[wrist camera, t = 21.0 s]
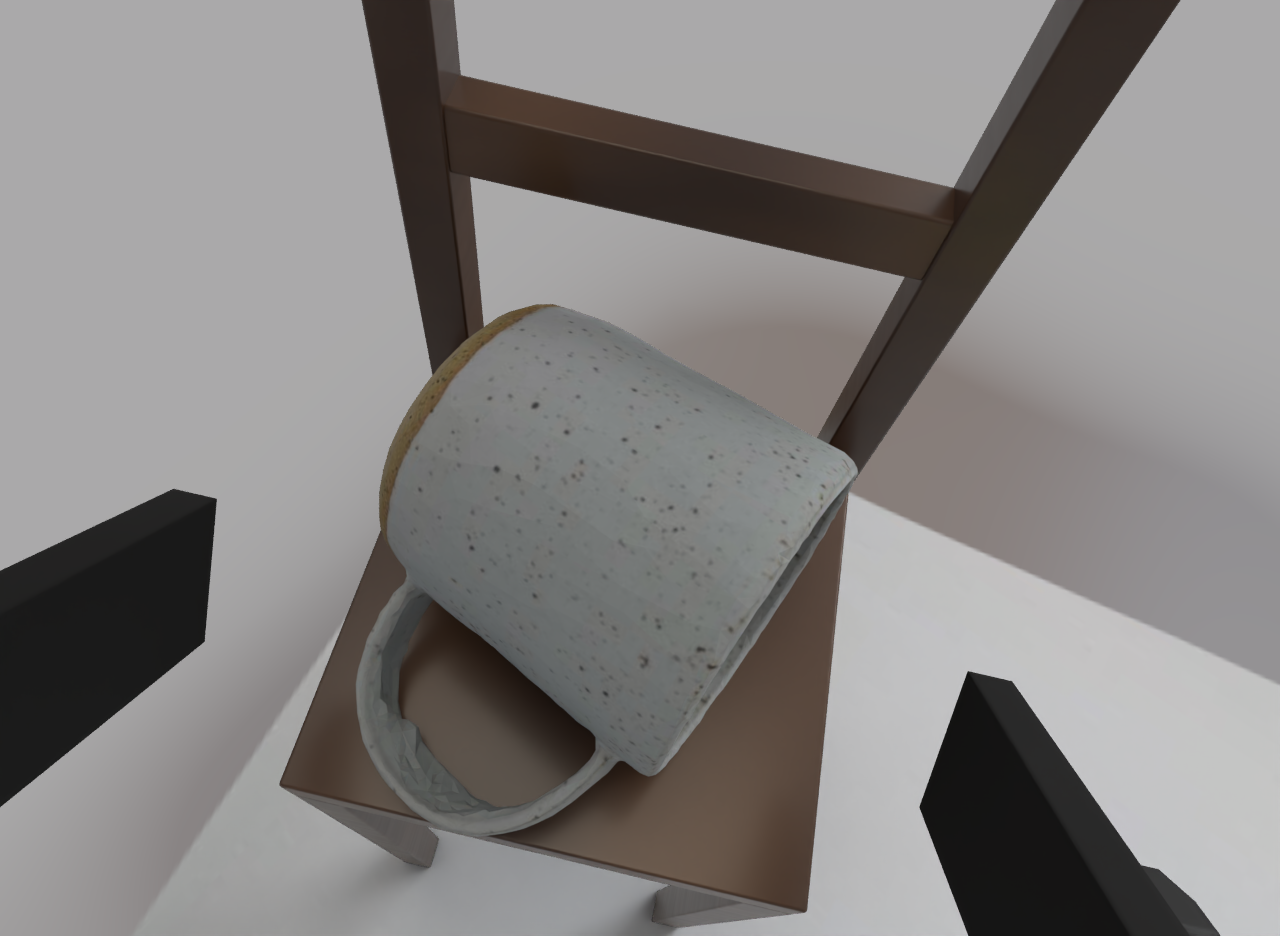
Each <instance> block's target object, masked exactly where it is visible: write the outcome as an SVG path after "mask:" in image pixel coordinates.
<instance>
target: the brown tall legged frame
mask: <svg viewBox="0 0 1280 936" xmlns="http://www.w3.org/2000/svg"><path fill="white" fill-rule="evenodd" d="M1179 2H1180V0H1056V1H1055V3H1054V5H1053V7H1052V9H1051V10H1050V12H1049V14H1048V16H1047V18H1046V20H1045V21H1044V23H1043V25H1042V27H1041V29H1040V31H1039V33H1038V35H1037V36H1036V38H1035V40H1034V42H1033V43H1032V45H1031V48H1030V49H1029V51H1028V53H1027V54H1026V56H1025V58H1024V60H1023V62H1022V64H1021V66H1020V67H1019V69H1018V71H1017V73H1016V75H1015V76H1014V78H1013V80H1012V82H1011V84H1010V86H1009V87H1008V89H1007V91H1006V93H1005V95H1004V97H1003V98H1002V100H1001V102H1000V104H999V106H998V108H997V110H996V111H995V113H994V115H993V117H992V118H991V120H990V122H989V124H988V126H987V128H986V130H985V131H984V133H983V135H982V137H981V139H980V140H979V142H978V144H977V146H976V148H975V150H974V152H973V153H972V155H971V157H970V159H969V161H968V162H967V164H966V166H965V168H964V170H963V172H962V174H961V175H960V177H959V179H958V181H957V183H956V185H955V186H954V188H952V187H948V186H943V185H939V184H934V183H930V182H925V181H921V180H917V179H912V178H908V177H904V176H899V175H895V174H891V173H886V172H882V171H877V170H873V169H868V168H865V167H860V166H856V165H851V164H847V163H843V162H838V161H834V160H829V159H825V158H821V157H816V156H812V155H808V154H803V153H799V152H795V151H790V150H786V149H781V148H777V147H772V146H768V145H764V144H760V143H755V142H751V141H746V140H742V139H738V138H733V137H729V136H725V135H720V134H716V133H711V132H707V131H703V130H698V129H694V128H690V127H685V126H680V125H676V124H672V123H668V122H663V121H659V120H655V119H650V118H646V117H641V116H637V115H633V114H628V113H624V112H620V111H615V110H611V109H606V108H602V107H598V106H593V105H589V104H585V103H580V102H576V101H571V100H567V99H562V98H558V97H554V96H550V95H545V94H540V93H536V92H532V91H528V90H523V89H519V88H515V87H510V86H506V85H501V84H497V83H493V82H488V81H484V80H479V79H475V78H471V77H466V76H462V75H461V74H460V63H459V54H458V53H459V52H458V41H457V30H456V20H455V8H454V0H362V4H363V10H364V15H365V20H366V26H367V31H368V36H369V41H370V47H371V52H372V57H373V63H374V68H375V73H376V78H377V84H378V89H379V94H380V100H381V104H382V110H383V116H384V121H385V126H386V131H387V136H388V142H389V147H390V153H391V158H392V163H393V168H394V174H395V178H396V184H397V189H398V195H399V200H400V205H401V210H402V216H403V221H404V226H405V232H406V237H407V242H408V248H409V253H410V258H411V263H412V269H413V274H414V279H415V285H416V290H417V295H418V301H419V306H420V311H421V316H422V322H423V327H424V332H425V338H426V343H427V348H428V353H429V359H430V364H431V369H432V374H434V373H435V372H436V370H437V369H438V368H439V366H440V365H441V364H442V363H443V362H444V361H445V360H446V359H447V358H448V357H449V356H450V355H451V354H452V353H453V352H454V351H455V350H456V349H457V348H458V347H459V346H460V345H461V344H462V343H463V342H464V341H465V340H467V339H468V338H469V337H471V336H472V335H474V334H475V333H476V332H478V331H479V330H481V329H482V328H483V327H484V325H483V314H482V303H481V292H480V281H479V270H478V259H477V249H476V239H475V228H474V216H473V205H472V195H471V183H470V177H473V178H478V179H482V180H486V181H491V182H496V183H500V184H504V185H508V186H512V187H517V188H522V189H525V190H530V191H534V192H539V193H543V194H547V195H551V196H556V197H560V198H565V199H569V200H573V201H578V202H582V203H587V204H591V205H595V206H599V207H604V208H608V209H613V210H617V211H621V212H625V213H630V214H635V215H638V216H643V217H647V218H651V219H656V220H660V221H665V222H669V223H673V224H677V225H682V226H686V227H691V228H695V229H700V230H704V231H708V232H712V233H717V234H721V235H725V236H730V237H734V238H739V239H743V240H747V241H751V242H756V243H760V244H764V245H769V246H773V247H777V248H782V249H786V250H790V251H795V252H800V253H804V254H808V255H812V256H817V257H821V258H825V259H830V260H834V261H838V262H843V263H847V264H851V265H856V266H860V267H864V268H869V269H873V270H877V271H882V272H886V273H891V274H895V275H899V276H904V277H905V278H904V280H903V282H902V283H901V285H900V287H899V289H898V291H897V292H896V294H895V296H894V298H893V300H892V302H891V303H890V305H889V307H888V309H887V311H886V312H885V314H884V316H883V318H882V320H881V322H880V323H879V325H878V327H877V329H876V331H875V333H874V334H873V336H872V338H871V340H870V342H869V344H868V345H867V347H866V349H865V351H864V353H863V355H862V356H861V358H860V360H859V362H858V364H857V366H856V368H855V369H854V371H853V373H852V375H851V377H850V379H849V380H848V382H847V384H846V386H845V388H844V389H843V391H842V393H841V395H840V397H839V398H838V400H837V402H836V404H835V406H834V408H833V409H832V411H831V413H830V415H829V417H828V419H827V421H826V422H825V424H824V426H823V428H822V430H821V431H820V433H819V435H818V437H817V438H818V439H820V440H822V441H824V442H826V443H828V444H829V445H831V446H833V447H835V448H837V449H839V450H841V451H843V452H845V453H846V454H847V455H848V456H849V457H850V458H851V459H852V460H853V461H854V463H855V465H856V467H857V469H858V474H857V476H858V475H859V474H860V472H861V471H862V469H863V468H864V466H865V465H866V463H867V462H868V460H869V459H870V457H871V455H872V454H873V453H874V451H875V450H876V448H877V447H878V445H879V444H880V442H881V441H882V440H883V438H884V437H885V435H886V434H887V432H888V431H889V429H890V428H891V426H892V425H893V423H894V422H895V420H896V419H897V417H898V416H899V415H900V413H901V412H902V410H903V409H904V407H905V406H906V404H907V403H908V401H909V400H910V398H911V397H912V395H913V394H914V392H915V391H916V389H917V388H918V386H919V385H920V384H921V382H922V381H923V379H924V378H925V376H926V375H927V373H928V372H929V370H930V369H931V367H932V366H933V364H934V363H935V361H936V360H937V358H938V357H939V356H940V354H941V353H942V351H943V350H944V348H945V346H946V345H947V344H948V342H949V341H950V339H951V338H952V336H953V335H954V333H955V332H956V330H957V329H958V328H959V326H960V325H961V323H962V322H963V320H964V319H965V317H966V315H967V314H968V313H969V311H970V310H971V308H972V307H973V305H974V304H975V302H976V301H977V299H978V298H979V297H980V295H981V294H982V292H983V291H984V289H985V288H986V286H987V285H988V283H989V282H990V280H991V279H992V277H993V276H994V274H995V273H996V271H997V270H998V268H999V267H1000V266H1001V264H1002V263H1003V261H1004V260H1005V258H1006V257H1007V255H1008V254H1009V252H1010V251H1011V249H1012V248H1013V246H1014V245H1015V243H1016V242H1017V240H1018V239H1019V238H1020V236H1021V235H1022V233H1023V231H1024V230H1025V228H1026V227H1027V226H1028V224H1029V223H1030V221H1031V220H1032V218H1033V217H1034V215H1035V214H1036V212H1037V211H1038V210H1039V208H1040V207H1041V205H1042V204H1043V202H1044V201H1045V199H1046V197H1047V196H1048V195H1049V193H1050V192H1051V190H1052V189H1053V187H1054V186H1055V184H1056V183H1057V182H1058V180H1059V179H1060V177H1061V176H1062V174H1063V173H1064V171H1065V170H1066V168H1067V167H1068V165H1069V164H1070V162H1071V161H1072V159H1073V158H1074V156H1075V155H1076V154H1077V152H1078V151H1079V149H1080V148H1081V146H1082V144H1083V143H1084V142H1085V140H1086V139H1087V137H1088V136H1089V134H1090V133H1091V131H1092V130H1093V128H1094V127H1095V125H1096V124H1097V123H1098V121H1099V120H1100V118H1101V117H1102V115H1103V114H1104V112H1105V111H1106V109H1107V108H1108V106H1109V105H1110V103H1111V102H1112V100H1113V99H1114V97H1115V96H1116V94H1117V93H1118V92H1119V90H1120V89H1121V87H1122V85H1123V84H1124V83H1125V81H1126V80H1127V78H1128V77H1129V75H1130V74H1131V72H1132V71H1133V69H1134V68H1135V66H1136V65H1137V64H1138V62H1139V61H1140V59H1141V58H1142V56H1143V55H1144V53H1145V52H1146V50H1147V49H1148V47H1149V46H1150V44H1151V43H1152V41H1153V40H1154V38H1155V37H1156V36H1157V34H1158V33H1159V31H1160V30H1161V28H1162V27H1163V25H1164V24H1165V22H1166V21H1167V19H1168V18H1169V16H1170V15H1171V13H1172V12H1173V10H1174V9H1175V7H1176V6H1177V4H1178V3H1179ZM856 478H857V477H856ZM856 478H855V479H856ZM854 481H855V480H854ZM848 493H849V492H848ZM847 503H848V494H847V495H846V497H845V499H844V501H843V503H842V506H841V507H840V509H839V510H838V512H837V514H836V516H835V518H834V519H833V520H832V521H831V523H830V525H829V527H828V529H827V531H826V533H825V535H824V537H823V538H822V539H821V541H820V542H819V544H818V545H817V547H816V549H815V551H814V553H813V555H812V557H811V559H810V560H809V562H808V563H807V565H806V566H805V568H804V569H803V570H802V572H801V573H800V575H799V576H798V578H797V579H796V581H795V583H794V584H793V586H792V587H791V589H790V591H789V592H788V594H787V595H786V597H785V598H784V599H783V601H782V602H781V604H780V605H779V607H778V608H777V610H776V611H775V613H774V615H773V616H772V618H771V619H770V621H769V622H768V624H767V626H766V627H765V629H764V630H763V631H762V632H761V634H760V635H759V637H758V639H757V641H756V643H755V645H754V646H753V647H752V648H751V649H750V650H749V652H748V653H747V655H746V656H745V658H744V659H743V661H742V662H741V664H740V665H739V667H738V668H737V670H736V671H735V673H734V674H733V676H732V677H731V678H730V680H729V681H728V683H727V684H726V686H725V687H724V689H723V690H722V691H721V692H720V694H719V695H718V696H717V697H716V698H715V700H714V701H713V702H712V704H711V705H710V707H709V708H708V710H707V711H706V713H705V714H704V716H703V718H702V720H701V721H700V723H699V724H698V725H697V726H696V728H695V729H694V730H693V731H692V733H691V734H690V735H689V737H688V738H687V739H686V741H685V742H684V743H683V744H682V745H681V747H680V749H679V750H678V752H677V753H676V754H675V755H674V756H673V757H672V758H671V759H670V761H669V762H668V763H667V765H666V766H665V767H664V768H663V769H662V770H661V771H660V772H659V773H657V774H656V775H653V776H649V777H648V776H646V775H644V774H641V773H639V772H638V771H637V770H635V769H634V768H633V767H632V766H630V765H629V764H628V763H626V762H625V761H618V762H617V763H616V764H615V765H614V766H613V768H612V769H611V770H610V771H609V772H608V773H607V774H606V775H605V776H603V777H602V778H601V779H600V780H599V781H597V782H596V783H595V784H594V785H592V786H591V787H590V788H589V789H588V790H586V791H585V792H584V793H583V794H582V795H580V796H579V797H578V798H577V799H576V800H574V801H573V802H572V803H570V804H569V805H567V806H566V807H565V808H563V809H562V810H560V811H559V812H557V813H556V814H554V815H553V816H551V817H549V818H547V819H545V820H543V821H540V822H538V823H536V824H534V825H531V826H529V827H527V828H524V829H521V830H517V831H513V832H509V833H503V834H496V835H489V836H478V837H476V836H470V835H464V834H460V835H464V836H468V837H473V838H477V839H481V840H485V841H489V842H493V843H497V844H502V845H506V846H510V847H514V848H518V849H522V850H527V851H531V852H535V853H539V854H543V855H547V856H551V857H556V858H560V859H564V860H568V861H572V862H576V863H581V864H585V865H589V866H593V867H597V868H601V869H605V870H610V871H614V872H618V873H622V874H626V875H630V876H635V877H639V878H643V879H647V880H651V881H655V882H659V883H664V884H668V885H670V886H668V887H665V888H663V889H661V890H659V891H657V894H656V900H655V906H654V911H653V917H652V921H653V922H656V923H660V924H664V925H668V926H672V927H676V928H681V927H690V926H698V925H706V924H715V923H723V922H732V921H740V920H748V919H757V918H765V917H774V916H782V915H790V914H798V913H805V912H806V911H807V905H808V895H809V885H810V875H811V865H812V855H813V845H814V835H815V825H816V815H817V805H818V795H819V785H820V775H821V765H822V754H823V744H824V734H825V724H826V714H827V704H828V694H829V684H830V674H831V664H832V654H833V644H834V634H835V624H836V614H837V603H838V593H839V583H840V573H841V563H842V553H843V543H844V533H845V523H846V513H847ZM406 577H407V574H406V569H405V567H404V566H403V565H402V564H401V562H400V561H399V560H398V559H397V557H396V556H395V555H394V553H393V552H392V551H391V549H390V548H389V546H388V545H387V543H386V541H385V540H384V537H383V534H382V531H380V534H379V536H378V539H377V541H376V544H375V546H374V549H373V551H372V554H371V556H370V559H369V561H368V564H367V566H366V569H365V571H364V574H363V577H362V579H361V581H360V584H359V586H358V589H357V591H356V594H355V596H354V599H353V601H352V604H351V606H350V609H349V611H348V614H347V616H346V619H345V621H344V624H343V626H342V629H341V631H340V634H339V636H338V638H337V641H336V643H335V646H334V648H333V651H332V653H331V656H330V658H329V661H328V663H327V666H326V668H325V671H324V673H323V676H322V678H321V681H320V683H319V686H318V688H317V691H316V693H315V696H314V698H313V701H312V703H311V706H310V708H309V711H308V713H307V716H306V718H305V721H304V723H303V726H302V728H301V731H300V733H299V736H298V738H297V741H296V743H295V746H294V748H293V751H292V753H291V756H290V758H289V761H288V763H287V766H286V768H285V771H284V773H283V776H282V778H281V781H280V786H281V787H282V788H284V789H285V790H287V791H289V792H290V793H292V794H294V795H296V796H297V797H299V798H301V799H302V800H304V801H306V802H307V803H309V804H310V805H312V806H314V807H315V808H317V809H319V810H320V811H322V812H324V813H325V814H327V815H329V816H330V817H332V818H333V819H335V820H337V821H338V822H340V823H342V824H343V825H345V826H347V827H348V828H350V829H352V830H353V831H355V832H357V833H358V834H360V835H361V836H363V837H365V838H366V839H368V840H370V841H371V842H373V843H375V844H376V845H378V846H380V847H381V848H383V849H384V850H386V851H388V852H389V853H391V854H393V855H394V856H396V857H398V858H399V859H401V860H403V861H404V862H407V863H411V864H416V865H420V866H424V867H428V868H429V867H430V866H431V864H432V861H433V858H434V854H435V851H436V848H437V844H438V841H439V838H438V837H437V836H436V835H435V834H434V833H433V832H432V831H431V830H430V829H429V828H428V827H431V828H435V829H439V830H443V829H441V828H439V827H437V826H435V825H434V824H432V823H431V822H429V821H428V820H426V819H424V818H423V817H421V816H420V815H418V814H417V813H415V812H414V811H412V810H411V809H410V808H409V806H408V805H407V804H406V803H405V802H404V801H403V800H402V799H401V798H400V797H399V796H398V795H397V794H396V793H395V792H394V791H393V790H392V789H391V788H390V787H389V786H388V785H387V783H386V782H385V781H384V779H383V778H382V777H381V775H380V774H379V772H378V770H377V769H376V767H375V765H374V763H373V761H372V759H371V757H370V755H369V753H368V751H367V749H366V747H365V744H364V742H363V740H362V735H361V730H360V725H359V720H358V715H357V700H356V680H357V673H358V668H359V665H360V662H361V659H362V655H363V652H364V648H365V645H366V641H367V638H368V636H369V634H370V632H371V631H372V629H373V627H374V625H375V623H376V621H377V619H378V616H379V614H380V612H381V611H382V609H383V608H384V607H385V606H386V605H387V603H388V602H389V600H390V598H391V597H392V595H393V593H394V592H395V591H396V590H397V589H398V588H399V587H401V586H402V585H403V584H404V582H405V579H406ZM398 702H399V707H400V711H401V716H402V719H406V720H409V721H411V722H412V723H414V724H415V725H417V726H418V727H419V731H420V734H421V738H422V741H423V742H424V744H425V745H426V746H427V748H428V749H429V750H430V752H431V753H432V754H433V756H434V757H435V758H436V760H437V761H438V762H439V763H440V764H441V765H443V766H444V767H445V768H446V769H447V770H448V771H449V772H450V773H451V774H452V775H453V776H454V777H455V778H456V779H457V780H458V782H459V783H460V784H461V785H462V786H463V787H464V788H465V789H466V790H467V791H468V792H469V793H470V794H471V795H473V796H474V797H475V798H476V799H480V800H485V801H487V802H488V803H490V804H491V805H493V806H496V807H503V806H507V807H510V806H518V805H522V804H525V803H528V802H532V801H535V800H537V799H538V798H540V797H541V796H543V795H545V794H546V793H548V792H549V791H551V790H552V789H554V788H556V787H557V786H559V785H560V784H562V783H563V782H565V781H566V780H567V779H569V778H570V777H571V776H573V775H574V774H576V773H577V772H578V771H579V770H580V769H581V768H582V767H583V766H584V765H585V764H586V763H587V762H588V761H589V760H590V759H591V757H592V755H593V754H594V752H595V751H596V737H595V736H594V735H593V734H592V732H591V731H590V730H588V729H587V728H585V727H584V726H583V725H581V724H580V723H578V722H577V721H576V720H575V719H574V718H573V717H572V716H571V715H569V714H568V713H567V712H566V711H565V710H564V709H563V708H562V707H560V706H559V705H558V704H557V703H556V702H555V701H554V700H553V699H552V698H551V697H549V696H548V695H547V694H546V693H545V692H544V691H543V690H541V689H540V688H539V687H538V686H537V685H535V684H534V683H533V682H532V681H530V680H529V679H528V678H527V677H526V676H525V675H524V674H523V673H521V672H520V671H519V670H518V669H517V668H516V667H515V666H514V665H513V664H512V663H511V662H509V661H508V660H507V659H506V658H505V657H504V656H503V655H502V654H500V653H499V652H498V651H497V650H496V649H495V648H494V647H493V646H491V645H490V644H489V643H488V642H486V641H485V640H484V639H483V638H482V637H481V636H479V635H478V634H477V633H475V632H474V631H472V630H471V629H469V628H468V627H467V626H465V625H464V624H463V623H461V622H460V621H459V620H458V619H456V618H455V617H454V616H453V615H451V614H450V613H449V612H448V611H446V610H445V609H444V608H443V607H442V606H441V605H439V604H438V603H437V602H436V601H435V600H434V599H433V601H432V602H431V604H430V605H429V607H428V608H427V610H426V611H425V613H424V614H423V615H422V617H421V620H420V622H419V624H418V626H417V628H416V629H415V631H414V633H413V635H412V637H411V638H410V640H409V644H408V650H407V652H406V654H405V656H404V657H403V660H402V664H401V668H400V672H399V700H398ZM443 831H445V830H443ZM448 832H449V831H448ZM452 833H454V832H452ZM456 834H459V833H456Z"/></svg>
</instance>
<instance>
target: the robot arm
mask: <svg viewBox="0 0 1280 936" xmlns="http://www.w3.org/2000/svg"><path fill="white" fill-rule="evenodd" d="M216 502H217V499H215V498H211V497H206V496H202V495H198V494H193V493H189V492H184V491H180V490H176V489H172V490H170V491H168V492H166V493H164V494H162V495H160V496H157V497H155V498H153V499H151V500H149V501H147V502H145V503H143V504H140V505H138V506H136V507H134V508H132V509H130V510H128V511H126V512H124V513H121V514H119V515H117V516H116V517H113V518H111V519H109V520H107V521H105V522H102V523H100V524H98V525H96V526H95V527H92V528H90V529H88V530H86V531H83V532H81V533H79V534H77V535H75V536H73V537H71V538H69V539H66V540H64V541H62V542H60V543H58V544H56V545H54V546H52V547H50V548H47V549H45V550H43V551H41V552H39V553H37V554H35V555H33V556H31V557H28V558H26V559H24V560H22V561H20V562H18V563H16V564H14V565H12V566H10V567H8V568H5V569H3V570H1V571H0V807H1V806H2V805H3V804H4V803H6V802H7V801H8V800H10V799H11V798H12V797H13V796H15V795H16V794H17V793H18V792H19V791H21V790H22V789H23V788H24V787H25V786H27V785H28V784H29V783H31V782H32V781H33V780H34V779H35V778H37V777H38V776H39V775H40V774H42V773H43V772H44V771H45V770H47V769H48V768H49V767H50V766H52V765H53V764H54V763H55V762H57V761H58V760H59V759H60V758H61V757H63V756H64V755H65V754H66V753H68V752H69V751H70V750H71V749H73V748H74V747H75V746H76V745H78V744H79V743H80V742H81V741H82V740H84V739H85V738H86V737H87V736H89V735H90V734H91V733H92V732H94V731H95V730H96V729H97V728H99V727H100V726H101V725H102V724H103V723H105V722H106V721H107V720H108V719H110V718H111V717H112V716H113V715H115V714H116V713H117V712H118V711H120V710H121V709H122V708H123V707H124V706H126V705H127V704H128V703H129V702H131V701H132V700H133V699H134V698H135V697H137V696H138V695H139V694H140V693H141V692H143V691H144V690H145V689H147V688H148V687H149V686H150V685H152V684H153V683H154V682H155V681H157V680H158V679H159V678H160V677H162V675H164V674H165V673H166V672H168V671H169V670H170V669H171V668H173V667H174V666H175V665H176V664H177V663H179V662H180V661H181V660H182V659H184V658H185V657H186V656H187V655H189V654H190V653H191V652H192V651H194V649H196V648H197V647H199V646H200V645H201V644H202V643H203V642H204V641H205V630H206V618H207V607H208V606H207V605H208V595H209V584H210V571H211V560H212V549H213V548H212V547H213V537H214V536H213V535H214V525H215V514H216ZM920 810H921V813H922V815H923V818H924V821H925V823H926V826H927V828H928V831H929V834H930V836H931V839H932V842H933V844H934V847H935V849H936V852H937V855H938V857H939V860H940V863H941V865H942V868H943V870H944V873H945V876H946V878H947V881H948V883H949V886H950V889H951V891H952V894H953V897H954V899H955V902H956V904H957V907H958V910H959V912H960V915H961V918H962V920H963V923H964V925H965V928H966V931H967V933H968V936H1220V934H1219V933H1218V932H1217V930H1216V929H1215V928H1214V926H1213V925H1212V923H1211V922H1210V921H1209V919H1208V918H1207V917H1206V915H1205V914H1204V913H1203V911H1202V910H1201V909H1200V907H1199V906H1198V905H1197V903H1196V902H1195V901H1194V900H1193V899H1192V898H1191V897H1189V896H1188V895H1187V894H1186V893H1185V892H1184V891H1183V890H1181V889H1180V888H1179V887H1178V886H1177V885H1176V884H1175V883H1174V882H1172V881H1171V880H1170V879H1169V878H1168V877H1167V876H1166V875H1164V874H1163V873H1162V872H1161V871H1160V870H1159V869H1154V868H1150V867H1146V866H1141V865H1140V863H1139V862H1138V861H1137V859H1136V858H1135V856H1134V855H1133V853H1132V852H1131V851H1130V849H1129V848H1128V846H1127V845H1126V843H1125V842H1124V841H1123V839H1122V838H1121V836H1120V835H1119V833H1118V832H1117V831H1116V829H1115V828H1114V826H1113V825H1112V823H1111V822H1110V821H1109V819H1108V818H1107V816H1106V815H1105V813H1104V812H1103V811H1102V809H1101V808H1100V806H1099V805H1098V803H1097V802H1096V801H1095V799H1094V798H1093V796H1092V795H1091V793H1090V792H1089V791H1088V789H1087V788H1086V786H1085V785H1084V783H1083V782H1082V781H1081V779H1080V778H1079V776H1078V775H1077V773H1076V772H1075V771H1074V769H1073V768H1072V766H1071V765H1070V763H1069V762H1068V761H1067V759H1066V758H1065V756H1064V755H1063V753H1062V752H1061V751H1060V749H1059V748H1058V746H1057V745H1056V743H1055V742H1054V741H1053V739H1052V738H1051V736H1050V735H1049V733H1048V732H1047V731H1046V729H1045V728H1044V726H1043V725H1042V723H1041V722H1040V721H1039V719H1038V718H1037V716H1036V715H1035V713H1034V712H1033V711H1032V709H1031V708H1030V706H1029V705H1028V703H1027V702H1026V701H1025V699H1024V698H1023V696H1022V695H1021V693H1020V692H1019V690H1018V689H1017V688H1016V686H1015V685H1014V683H1013V682H1012V681H1008V680H1004V679H999V678H995V677H991V676H986V675H982V674H978V673H973V672H969V671H968V672H967V675H966V678H965V681H964V683H963V686H962V689H961V692H960V695H959V697H958V700H957V703H956V706H955V709H954V711H953V714H952V717H951V720H950V723H949V726H948V728H947V731H946V734H945V737H944V740H943V742H942V745H941V748H940V751H939V754H938V756H937V759H936V762H935V765H934V768H933V770H932V773H931V776H930V779H929V782H928V784H927V787H926V790H925V793H924V796H923V798H922V801H921V804H920Z"/></svg>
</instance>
